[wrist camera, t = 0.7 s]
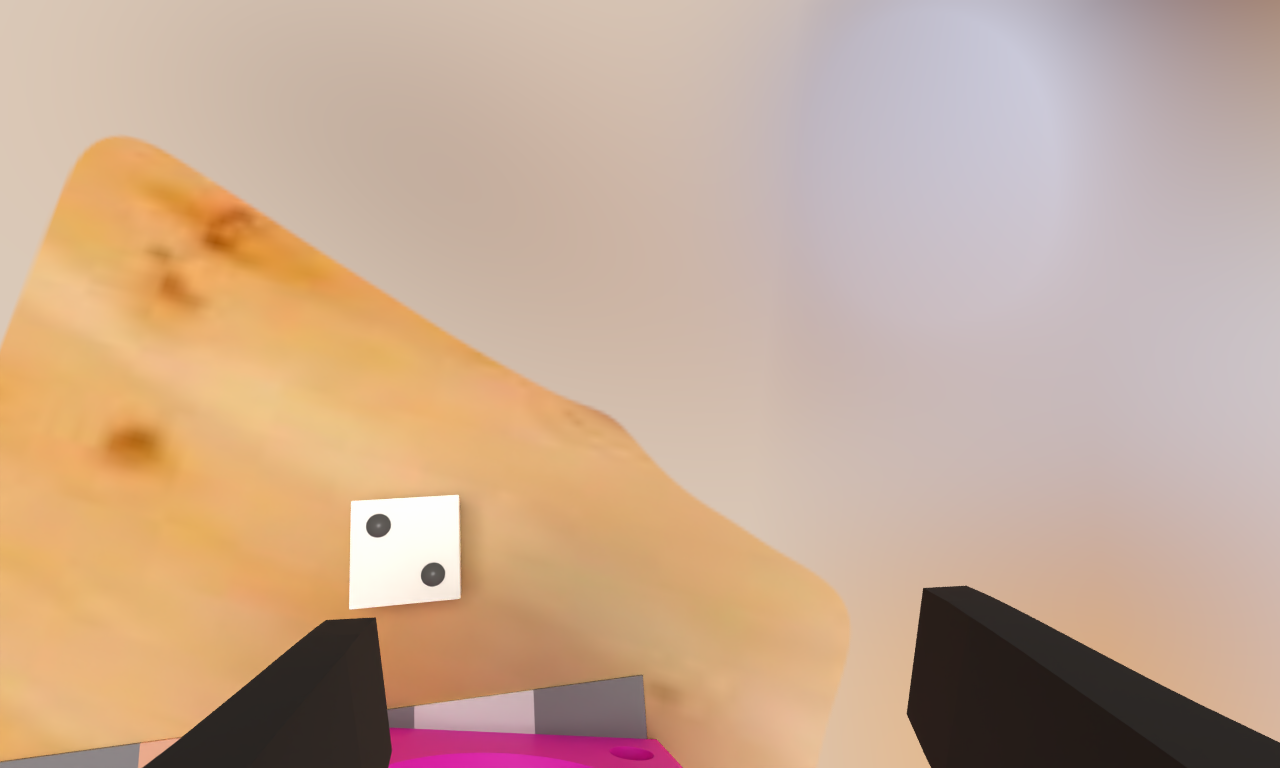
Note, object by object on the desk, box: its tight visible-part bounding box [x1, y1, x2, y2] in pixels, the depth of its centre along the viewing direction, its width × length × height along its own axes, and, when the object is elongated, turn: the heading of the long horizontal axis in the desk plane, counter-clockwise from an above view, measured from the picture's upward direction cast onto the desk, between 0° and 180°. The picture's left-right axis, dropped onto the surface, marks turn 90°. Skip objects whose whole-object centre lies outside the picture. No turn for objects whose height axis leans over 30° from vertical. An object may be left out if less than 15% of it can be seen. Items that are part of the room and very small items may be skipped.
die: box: [349, 495, 461, 610], centre depth 27 cm, size 4×4×4 cm
